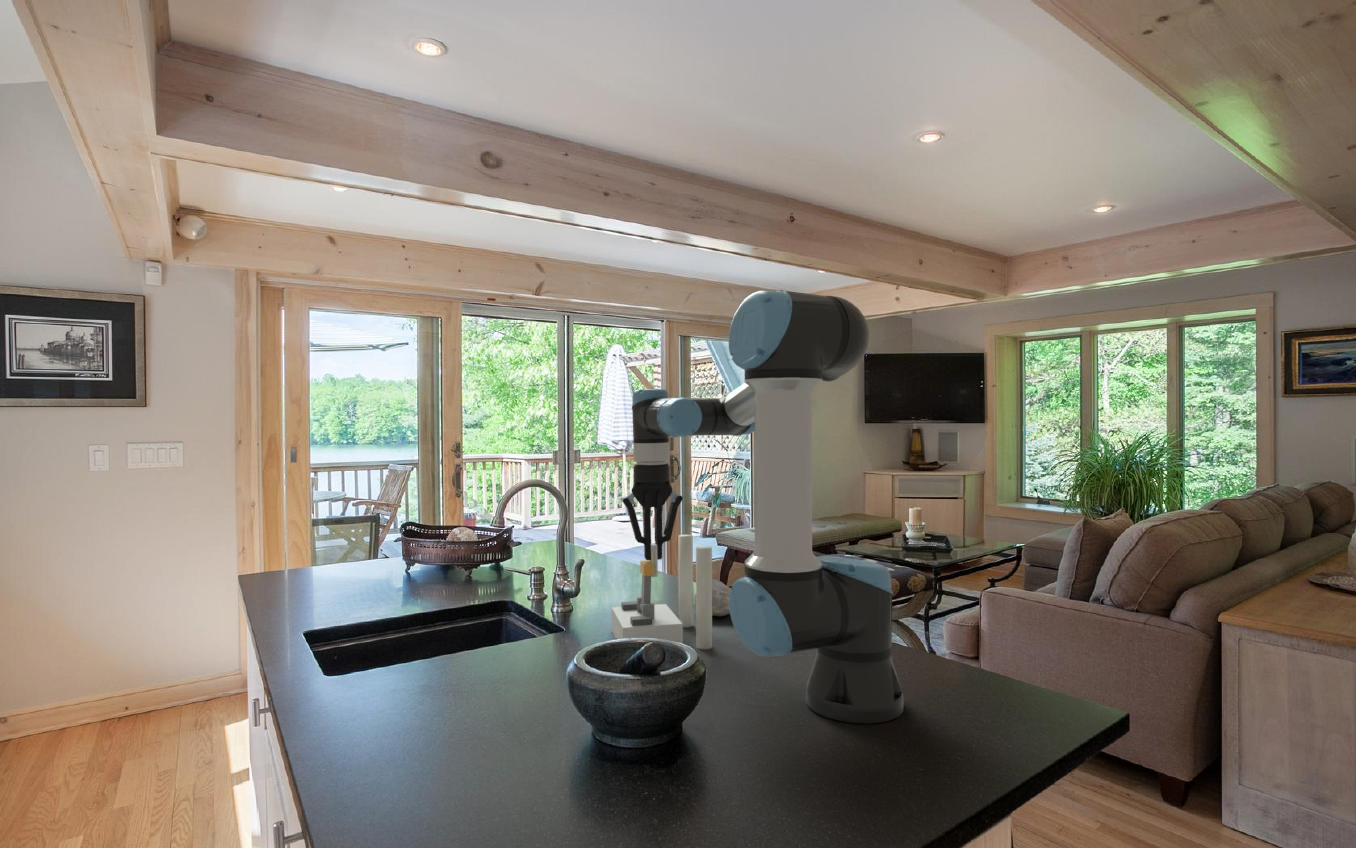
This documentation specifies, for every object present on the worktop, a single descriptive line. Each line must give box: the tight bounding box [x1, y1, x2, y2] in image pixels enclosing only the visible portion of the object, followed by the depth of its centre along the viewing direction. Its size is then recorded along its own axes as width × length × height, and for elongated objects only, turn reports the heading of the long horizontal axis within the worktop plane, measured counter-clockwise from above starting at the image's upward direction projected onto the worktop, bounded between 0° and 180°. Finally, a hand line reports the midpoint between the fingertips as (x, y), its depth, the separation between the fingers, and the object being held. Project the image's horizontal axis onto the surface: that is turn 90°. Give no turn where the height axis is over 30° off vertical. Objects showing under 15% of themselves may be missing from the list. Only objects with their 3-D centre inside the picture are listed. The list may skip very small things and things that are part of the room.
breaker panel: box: [611, 596, 684, 643], centre depth 150 cm, size 16×12×8 cm
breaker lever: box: [639, 560, 653, 611], centre depth 150 cm, size 4×2×10 cm, turn 13°
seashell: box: [693, 578, 732, 617], centre depth 170 cm, size 9×12×15 cm
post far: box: [677, 534, 694, 629], centre depth 160 cm, size 3×3×20 cm
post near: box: [695, 545, 713, 650], centre depth 145 cm, size 3×3×20 cm
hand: (653, 575), depth 151 cm, fingers closed
